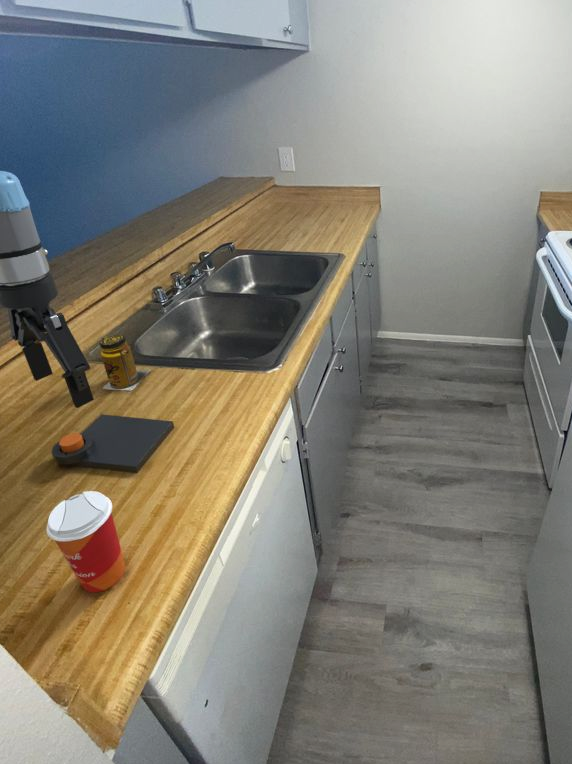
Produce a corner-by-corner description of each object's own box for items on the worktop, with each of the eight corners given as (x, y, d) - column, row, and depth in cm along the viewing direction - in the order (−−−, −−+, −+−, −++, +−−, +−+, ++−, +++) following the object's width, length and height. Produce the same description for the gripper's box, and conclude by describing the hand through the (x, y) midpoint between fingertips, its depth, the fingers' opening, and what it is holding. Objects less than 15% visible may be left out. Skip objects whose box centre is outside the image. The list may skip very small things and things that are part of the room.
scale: (49, 469, 89) (43, 455, 87) (100, 420, 101) (95, 407, 100) (133, 478, 88) (129, 464, 86) (174, 427, 100) (171, 414, 99)
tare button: (57, 452, 89) (54, 445, 88) (71, 439, 92) (68, 432, 91) (75, 454, 88) (72, 446, 87) (88, 440, 91) (86, 433, 91)
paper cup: (69, 570, 71) (40, 506, 65) (126, 542, 76) (103, 479, 69) (79, 611, 66) (47, 546, 60) (138, 579, 71) (115, 514, 64)
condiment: (101, 389, 111) (87, 345, 105) (123, 369, 118) (111, 327, 113) (132, 391, 111) (119, 347, 105) (151, 371, 118) (140, 329, 113)
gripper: (91, 288, 69) (126, 403, 79) (11, 253, 81) (50, 357, 91) (34, 306, 64) (79, 428, 74) (-43, 266, 75) (4, 376, 85)
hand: (63, 389), depth 82 cm, fingers open, 13 cm apart
